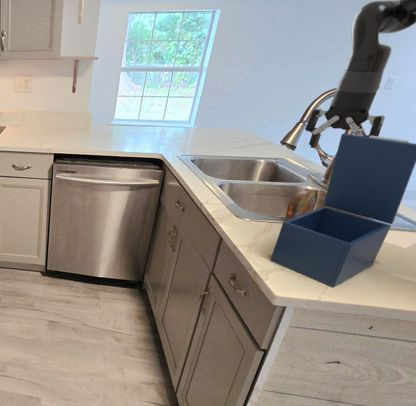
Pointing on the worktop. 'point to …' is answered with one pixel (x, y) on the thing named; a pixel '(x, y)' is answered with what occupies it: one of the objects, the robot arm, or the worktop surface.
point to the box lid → (370, 176)
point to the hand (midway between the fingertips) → (332, 150)
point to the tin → (301, 203)
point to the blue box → (329, 244)
